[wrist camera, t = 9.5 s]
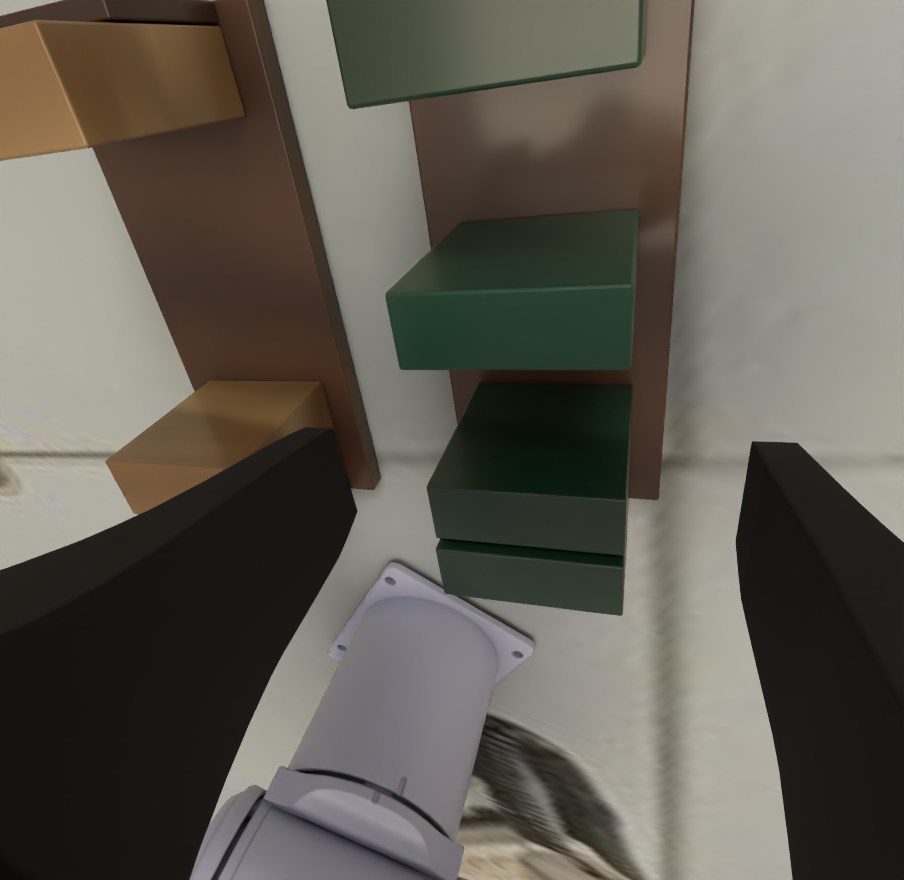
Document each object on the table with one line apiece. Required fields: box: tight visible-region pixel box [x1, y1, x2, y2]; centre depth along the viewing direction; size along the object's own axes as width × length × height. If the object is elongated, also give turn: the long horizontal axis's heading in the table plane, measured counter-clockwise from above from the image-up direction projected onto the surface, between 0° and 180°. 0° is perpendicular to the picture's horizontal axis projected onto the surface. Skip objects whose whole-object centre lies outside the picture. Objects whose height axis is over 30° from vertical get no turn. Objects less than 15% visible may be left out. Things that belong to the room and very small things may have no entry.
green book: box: [385, 209, 639, 370], centre depth 14 cm, size 2×5×6 cm, turn 97°
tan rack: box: [0, 0, 381, 515], centre depth 18 cm, size 16×7×7 cm, turn 7°
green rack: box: [326, 0, 695, 616], centre depth 15 cm, size 16×7×7 cm, turn 8°
